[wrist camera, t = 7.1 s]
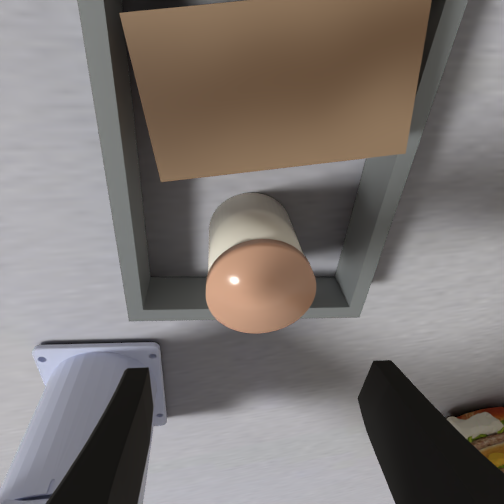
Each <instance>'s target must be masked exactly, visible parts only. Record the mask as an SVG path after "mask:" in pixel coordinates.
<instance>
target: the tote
mask: <svg viewBox="0 0 504 504" xmlns="http://www.w3.org/2000/svg"><path fill="white" fill-rule="evenodd" d="M77 2H78V8H79V14H80V20H81V27H82V33H83V39H84V45H85V51H86V58H87V64H88V70H89V76H90V82H91V89H92V95H93V101H94V107H95V113H96V119H97V126H98V132H99V138H100V144H101V150H102V157H103V163H104V169H105V175H106V181H107V188H108V194H109V200H110V206H111V212H112V219H113V225H114V231H115V237H116V243H117V250H118V256H119V262H120V268H121V274H122V280H123V287H124V293H125V299H126V305H127V311H128V318H129V321H174V320H217V319H216V318H215V317H214V316H213V315H212V313H211V312H210V310H209V308H208V306H207V302H206V278H207V277H150V267H149V258H148V248H147V239H146V229H145V219H144V210H143V200H142V191H141V181H140V171H139V162H138V152H137V143H136V133H135V123H134V114H133V104H132V95H131V85H130V75H129V66H128V56H127V47H126V38H125V34H124V30H123V26H122V22H121V18H120V14H119V13H123V8H122V0H77ZM467 2H468V0H432V2H431V8H430V14H429V19H428V25H427V31H426V37H425V43H424V49H423V55H422V60H421V66H420V72H419V78H418V84H417V90H416V96H415V101H414V107H413V113H412V119H411V125H410V131H409V137H408V142H407V148H406V154H398V155H389V156H380V157H372V158H366V161H365V165H364V169H363V173H362V176H361V180H360V184H359V188H358V191H357V195H356V199H355V203H354V207H353V210H352V214H351V218H350V222H349V225H348V229H347V233H346V237H345V240H344V244H343V248H342V252H341V256H340V259H339V263H338V267H337V271H336V274H335V277H315V279H316V294H315V297H314V300H313V302H312V304H311V306H310V307H309V309H308V310H307V311H306V313H305V314H304V315H303V316H302V317H301V318H357V317H360V314H361V311H362V308H363V305H364V302H365V300H366V297H367V294H368V291H369V288H370V285H371V282H372V279H373V276H374V273H375V270H376V267H377V265H378V262H379V259H380V256H381V253H382V250H383V247H384V244H385V241H386V238H387V235H388V232H389V230H390V227H391V224H392V221H393V218H394V215H395V212H396V209H397V206H398V203H399V200H400V197H401V194H402V192H403V189H404V186H405V183H406V180H407V177H408V174H409V171H410V168H411V165H412V162H413V159H414V157H415V154H416V151H417V148H418V145H419V142H420V139H421V136H422V133H423V130H424V127H425V124H426V122H427V119H428V116H429V113H430V110H431V107H432V104H433V101H434V98H435V95H436V92H437V89H438V87H439V84H440V81H441V78H442V75H443V72H444V69H445V66H446V63H447V60H448V57H449V54H450V51H451V49H452V46H453V43H454V40H455V37H456V34H457V31H458V28H459V25H460V22H461V19H462V16H463V14H464V11H465V8H466V5H467Z"/></svg>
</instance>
